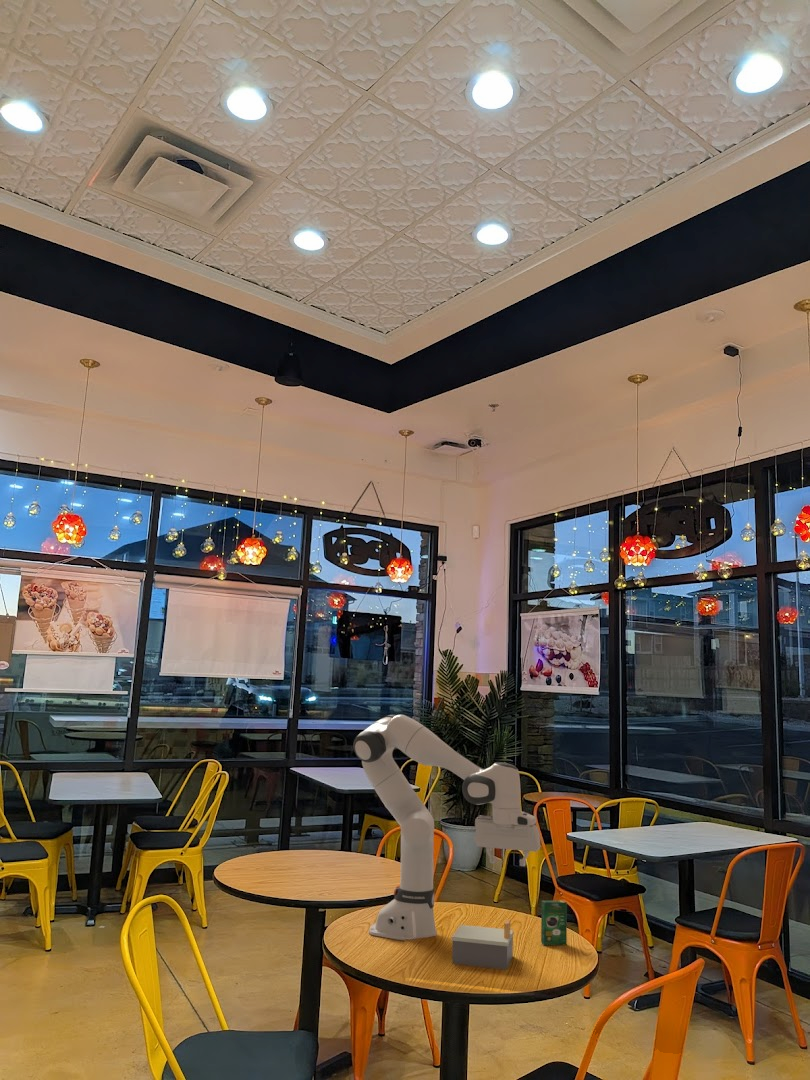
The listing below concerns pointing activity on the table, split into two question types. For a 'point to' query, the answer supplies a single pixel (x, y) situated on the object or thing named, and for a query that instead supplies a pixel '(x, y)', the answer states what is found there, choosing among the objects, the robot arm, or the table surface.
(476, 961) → the tub
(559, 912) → the coffee box
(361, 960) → the table surface
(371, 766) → the robot arm
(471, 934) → the lid
